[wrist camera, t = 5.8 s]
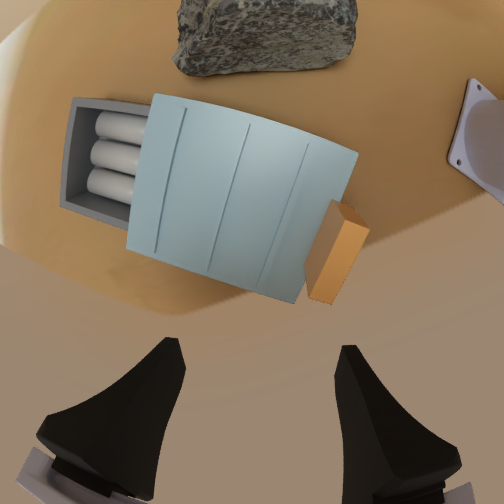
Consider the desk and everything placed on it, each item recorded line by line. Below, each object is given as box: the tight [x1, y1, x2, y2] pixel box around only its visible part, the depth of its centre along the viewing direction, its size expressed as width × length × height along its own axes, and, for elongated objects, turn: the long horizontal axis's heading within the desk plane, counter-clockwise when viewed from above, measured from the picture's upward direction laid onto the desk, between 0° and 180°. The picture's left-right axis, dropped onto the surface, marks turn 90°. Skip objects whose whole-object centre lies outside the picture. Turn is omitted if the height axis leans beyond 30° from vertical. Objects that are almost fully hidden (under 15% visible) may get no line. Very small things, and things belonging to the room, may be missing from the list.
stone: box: [172, 0, 358, 77], centre depth 11 cm, size 10×10×10 cm
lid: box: [126, 93, 370, 305], centre depth 13 cm, size 12×10×4 cm
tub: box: [60, 97, 151, 231], centre depth 17 cm, size 10×8×4 cm
